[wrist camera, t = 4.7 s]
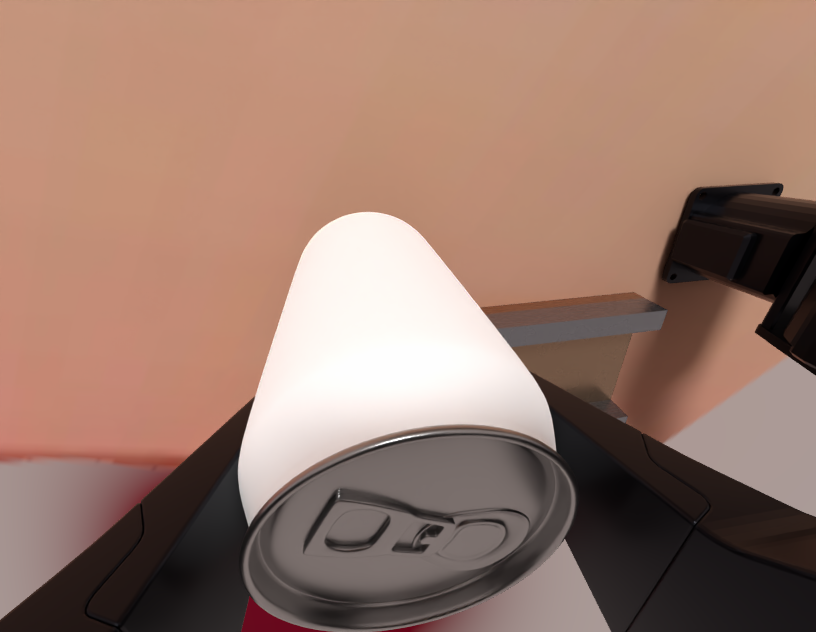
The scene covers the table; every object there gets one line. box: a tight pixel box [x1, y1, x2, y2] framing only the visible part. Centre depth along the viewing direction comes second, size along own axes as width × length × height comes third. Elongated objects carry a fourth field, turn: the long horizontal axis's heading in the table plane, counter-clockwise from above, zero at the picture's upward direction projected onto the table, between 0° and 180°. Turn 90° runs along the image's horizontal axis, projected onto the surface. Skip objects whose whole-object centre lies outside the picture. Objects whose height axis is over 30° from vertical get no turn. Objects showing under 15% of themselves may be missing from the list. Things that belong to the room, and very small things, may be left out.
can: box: [238, 212, 579, 632], centre depth 11 cm, size 6×6×12 cm
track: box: [480, 292, 668, 423], centre depth 24 cm, size 24×11×3 cm, turn 92°
